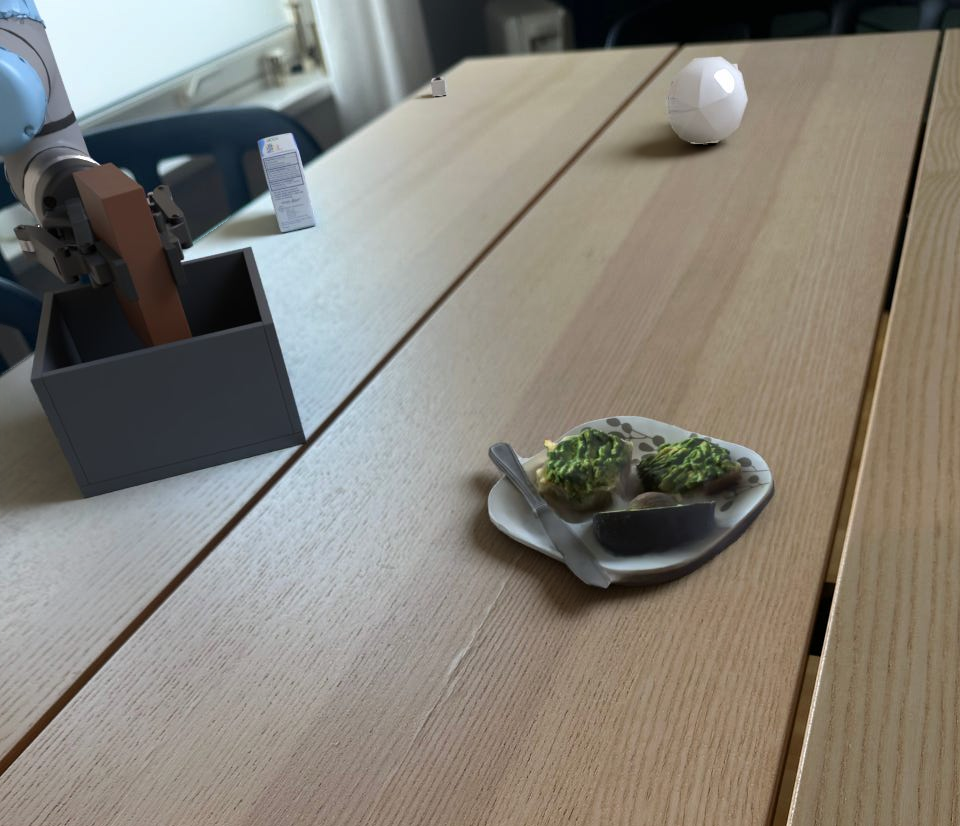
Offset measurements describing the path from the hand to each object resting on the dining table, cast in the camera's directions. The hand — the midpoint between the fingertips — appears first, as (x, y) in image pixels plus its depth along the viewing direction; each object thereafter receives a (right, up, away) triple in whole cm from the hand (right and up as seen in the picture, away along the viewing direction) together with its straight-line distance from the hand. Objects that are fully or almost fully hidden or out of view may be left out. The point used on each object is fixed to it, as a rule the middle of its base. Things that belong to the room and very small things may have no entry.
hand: (152, 274), depth 73 cm
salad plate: (+33, -18, -5) cm, 38 cm away
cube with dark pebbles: (+17, +59, +86) cm, 106 cm away
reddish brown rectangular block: (-2, -2, +8) cm, 8 cm away
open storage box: (-1, -8, +13) cm, 15 cm away
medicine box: (+1, +24, +49) cm, 55 cm away
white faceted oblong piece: (+52, +36, +53) cm, 83 cm away
